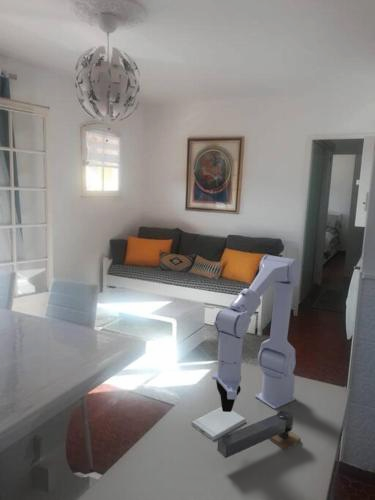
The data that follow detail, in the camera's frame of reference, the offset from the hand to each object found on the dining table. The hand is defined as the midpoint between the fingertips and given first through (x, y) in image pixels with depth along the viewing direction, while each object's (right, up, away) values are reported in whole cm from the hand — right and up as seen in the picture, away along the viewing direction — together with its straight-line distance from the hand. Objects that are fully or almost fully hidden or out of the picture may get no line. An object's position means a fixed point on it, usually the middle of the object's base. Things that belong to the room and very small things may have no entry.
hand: (226, 410), depth 94 cm
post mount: (+15, -9, +3) cm, 17 cm away
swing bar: (+7, -6, -2) cm, 9 cm away
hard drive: (-1, -8, +9) cm, 12 cm away
